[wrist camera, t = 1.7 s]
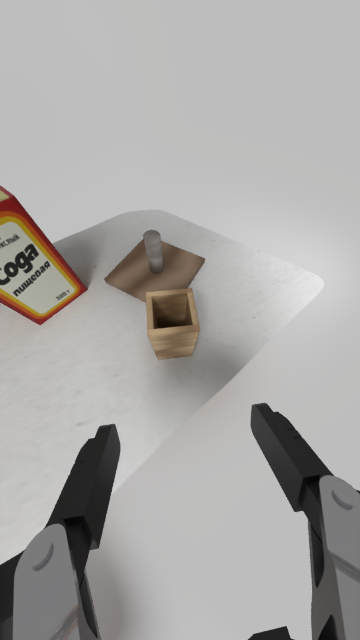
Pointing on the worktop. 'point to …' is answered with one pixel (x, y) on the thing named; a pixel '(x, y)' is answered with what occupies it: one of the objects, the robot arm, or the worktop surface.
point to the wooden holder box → (172, 322)
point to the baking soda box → (31, 266)
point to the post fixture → (154, 268)
